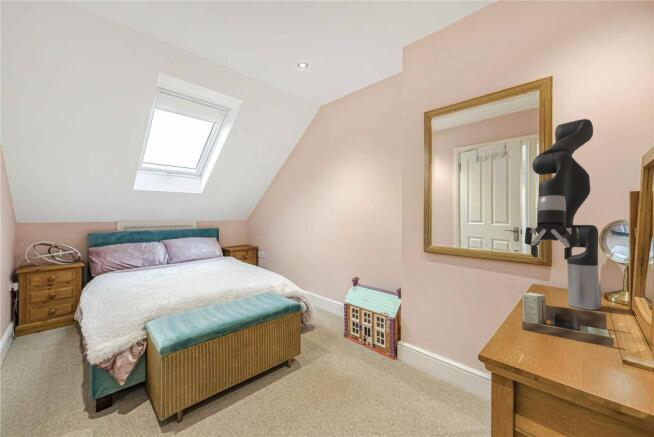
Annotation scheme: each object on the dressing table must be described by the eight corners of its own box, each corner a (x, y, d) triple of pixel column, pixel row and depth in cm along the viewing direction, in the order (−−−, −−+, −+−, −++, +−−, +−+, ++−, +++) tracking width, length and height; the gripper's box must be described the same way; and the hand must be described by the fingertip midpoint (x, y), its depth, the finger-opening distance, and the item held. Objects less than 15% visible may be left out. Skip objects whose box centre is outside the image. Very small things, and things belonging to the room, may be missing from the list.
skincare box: (547, 325, 92) (546, 295, 92) (538, 327, 90) (537, 296, 91) (530, 320, 97) (530, 291, 97) (522, 322, 95) (521, 292, 95)
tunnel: (522, 329, 89) (522, 313, 89) (527, 315, 102) (527, 301, 102) (613, 347, 75) (613, 329, 75) (606, 328, 88) (605, 313, 89)
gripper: (582, 211, 89) (582, 261, 88) (531, 213, 101) (530, 257, 99) (574, 207, 85) (574, 259, 84) (522, 210, 97) (521, 256, 95)
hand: (550, 258), depth 92 cm, fingers open, 8 cm apart
